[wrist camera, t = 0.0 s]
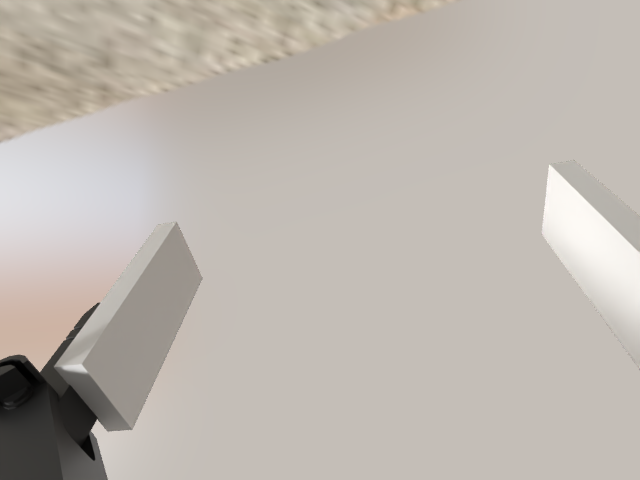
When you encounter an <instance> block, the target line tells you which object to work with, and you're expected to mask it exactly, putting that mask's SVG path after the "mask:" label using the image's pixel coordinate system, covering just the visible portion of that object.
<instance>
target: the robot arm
mask: <svg viewBox="0 0 640 480" xmlns="http://www.w3.org/2000/svg"><path fill="white" fill-rule="evenodd" d="M542 235H543V237H544V238H545V240H546V241H547V242H548V244H549V245H550V246H551V248H552V249H553V251H554V252H555V253H556V255H557V256H558V257H559V259H560V260H561V261H562V263H563V264H564V266H565V267H566V269H567V270H568V271H569V273H570V274H571V276H572V277H573V278H574V280H575V281H576V282H577V284H578V285H579V286H580V288H581V289H582V291H583V292H584V293H585V295H586V296H587V297H588V299H589V300H590V302H591V303H592V304H593V306H594V307H595V308H596V310H597V311H598V313H599V314H600V316H601V317H602V318H603V320H604V321H605V323H606V324H607V325H608V326H609V328H610V329H611V331H612V332H613V333H614V335H615V336H616V338H617V339H618V340H619V342H620V343H621V345H622V346H623V347H624V349H625V350H626V352H627V353H628V354H629V356H630V357H631V358H632V360H633V361H634V363H635V364H636V365H637V367H638V368H639V370H640V216H639V215H638V214H637V213H636V212H635V211H633V210H632V209H631V208H630V207H628V205H626V204H625V203H624V202H623V201H622V200H620V199H619V198H618V197H617V196H616V195H615V194H613V193H612V192H611V191H610V190H609V189H608V188H606V187H605V186H604V185H603V184H602V183H601V182H599V181H598V180H597V179H596V178H595V177H594V176H592V175H591V174H590V173H589V172H587V170H585V169H584V168H583V167H582V166H581V165H580V164H578V163H577V162H576V161H575V160H573V161H566V162H560V163H554V164H549V172H548V180H547V190H546V200H545V208H544V217H543V227H542ZM201 281H202V276H201V274H200V272H199V269H198V267H197V265H196V263H195V261H194V258H193V256H192V254H191V252H190V250H189V247H188V245H187V243H186V241H185V239H184V237H183V234H182V232H181V230H180V228H179V226H178V223H177V222H171V223H165V224H159V225H158V226H157V227H156V228H155V229H154V231H153V232H152V233H151V235H150V236H149V238H148V239H147V240H146V242H145V243H144V244H143V246H142V247H141V248H140V250H139V251H138V252H137V254H136V255H135V257H134V258H133V259H132V261H131V262H130V264H129V265H128V266H127V268H126V269H125V270H124V272H123V273H122V274H121V276H120V277H119V278H118V280H117V281H116V283H115V284H114V285H113V287H112V288H111V289H110V291H109V292H108V293H107V295H106V296H105V298H104V299H103V300H102V302H101V303H97V304H96V305H95V306H93V307H92V308H91V309H90V310H89V311H87V312H86V313H85V314H84V315H83V316H82V318H81V319H80V320H79V322H78V323H77V324H76V326H75V327H74V330H72V331H71V332H70V333H69V335H68V336H67V337H66V340H65V341H63V343H62V344H61V345H60V347H59V348H58V349H57V351H56V352H55V353H54V355H53V356H52V357H51V359H50V360H49V361H48V363H47V364H46V365H45V366H44V368H43V369H42V371H41V372H39V371H38V370H37V369H36V368H35V367H34V366H33V364H32V363H31V362H30V361H29V360H28V359H27V358H26V357H25V356H23V355H14V356H9V357H7V358H4V359H2V360H0V480H108V479H107V475H106V472H105V468H104V464H103V461H102V457H101V454H100V450H99V446H98V443H97V439H96V438H95V436H94V434H93V433H92V432H91V429H92V427H93V425H94V424H95V422H96V420H97V419H98V421H99V422H100V423H101V424H102V425H103V426H104V428H105V429H106V430H107V431H120V430H132V429H133V427H134V425H135V423H136V420H137V419H138V416H139V414H140V412H141V410H142V408H143V405H144V404H145V401H146V399H147V397H148V395H149V393H150V391H151V388H152V386H153V384H154V382H155V379H156V378H157V375H158V373H159V371H160V369H161V367H162V364H163V363H164V360H165V358H166V356H167V354H168V352H169V349H170V347H171V345H172V343H173V341H174V339H175V337H176V334H177V332H178V330H179V328H180V326H181V324H182V322H183V319H184V317H185V315H186V313H187V310H188V309H189V306H190V304H191V302H192V300H193V298H194V296H195V293H196V291H197V289H198V287H199V285H200V283H201Z"/></svg>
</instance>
